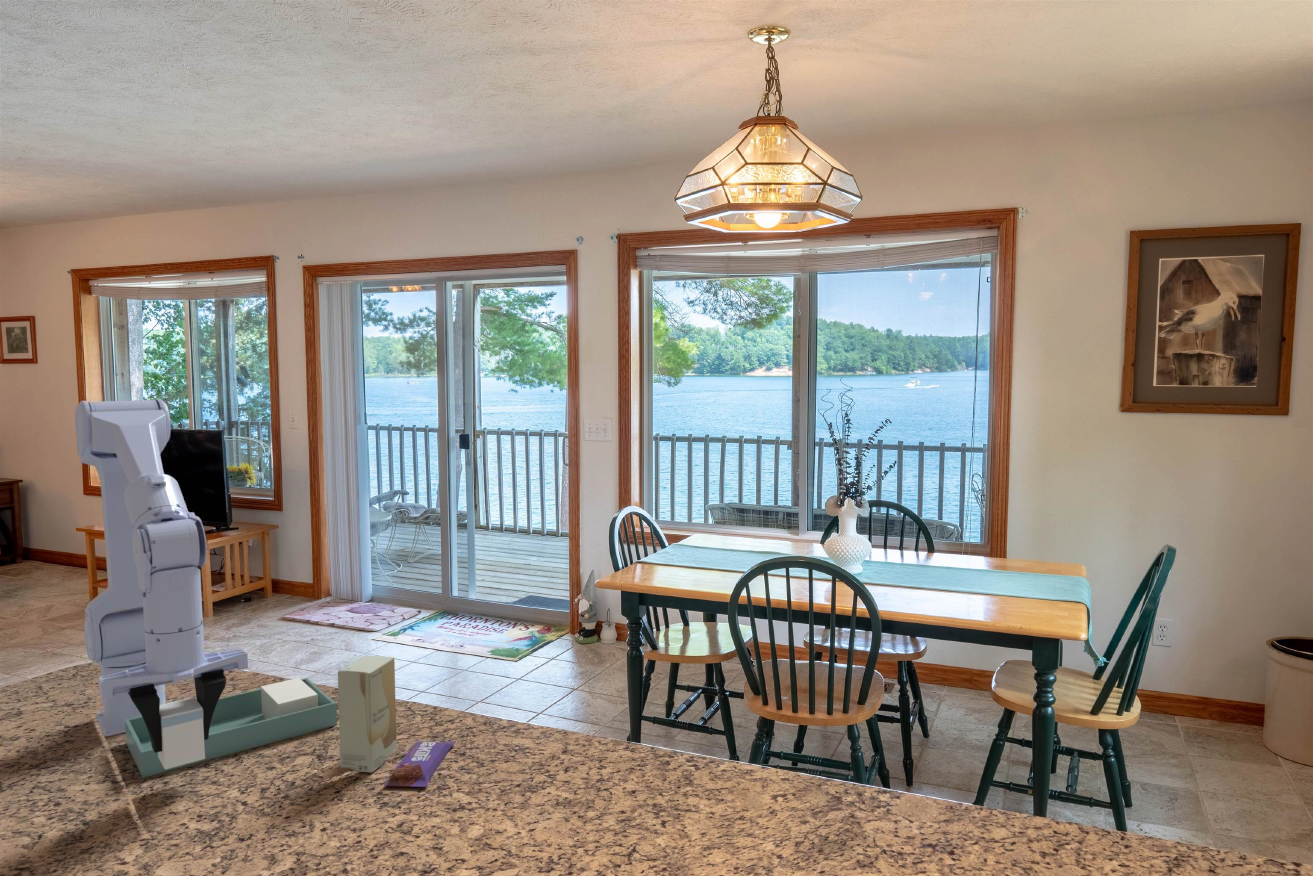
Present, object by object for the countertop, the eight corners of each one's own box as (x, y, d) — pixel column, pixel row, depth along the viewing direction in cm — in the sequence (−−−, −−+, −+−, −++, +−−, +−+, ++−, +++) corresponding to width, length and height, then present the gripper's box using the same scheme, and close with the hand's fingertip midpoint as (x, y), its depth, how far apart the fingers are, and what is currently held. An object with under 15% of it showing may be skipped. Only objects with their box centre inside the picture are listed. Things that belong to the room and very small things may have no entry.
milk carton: (157, 756, 96) (154, 705, 96) (197, 746, 99) (194, 696, 98) (164, 770, 93) (161, 717, 93) (205, 758, 96) (203, 707, 95)
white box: (262, 714, 116) (260, 686, 116) (299, 705, 119) (298, 677, 119) (279, 733, 110) (278, 704, 109) (318, 723, 113) (317, 694, 113)
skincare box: (372, 774, 100) (368, 673, 99) (338, 771, 101) (335, 671, 100) (399, 750, 106) (396, 655, 105) (367, 747, 107) (364, 653, 106)
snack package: (416, 733, 108) (455, 734, 107) (417, 748, 108) (455, 749, 108) (382, 777, 96) (425, 778, 96) (382, 793, 96) (426, 795, 96)
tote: (126, 746, 107) (124, 720, 107) (307, 701, 122) (307, 677, 121) (142, 781, 98) (141, 752, 98) (337, 728, 113) (336, 702, 112)
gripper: (102, 649, 87) (110, 775, 88) (253, 621, 96) (258, 736, 98) (93, 632, 93) (100, 752, 94) (237, 608, 102) (242, 717, 103)
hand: (180, 743), depth 96 cm, fingers closed on milk carton, 4 cm apart
